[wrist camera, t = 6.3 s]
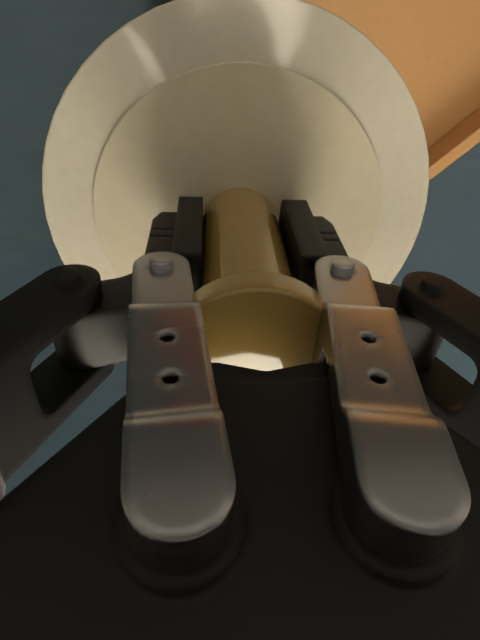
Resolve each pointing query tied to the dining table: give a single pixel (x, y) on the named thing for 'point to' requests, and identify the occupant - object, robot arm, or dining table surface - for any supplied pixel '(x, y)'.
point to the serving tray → (429, 63)
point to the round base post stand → (238, 158)
